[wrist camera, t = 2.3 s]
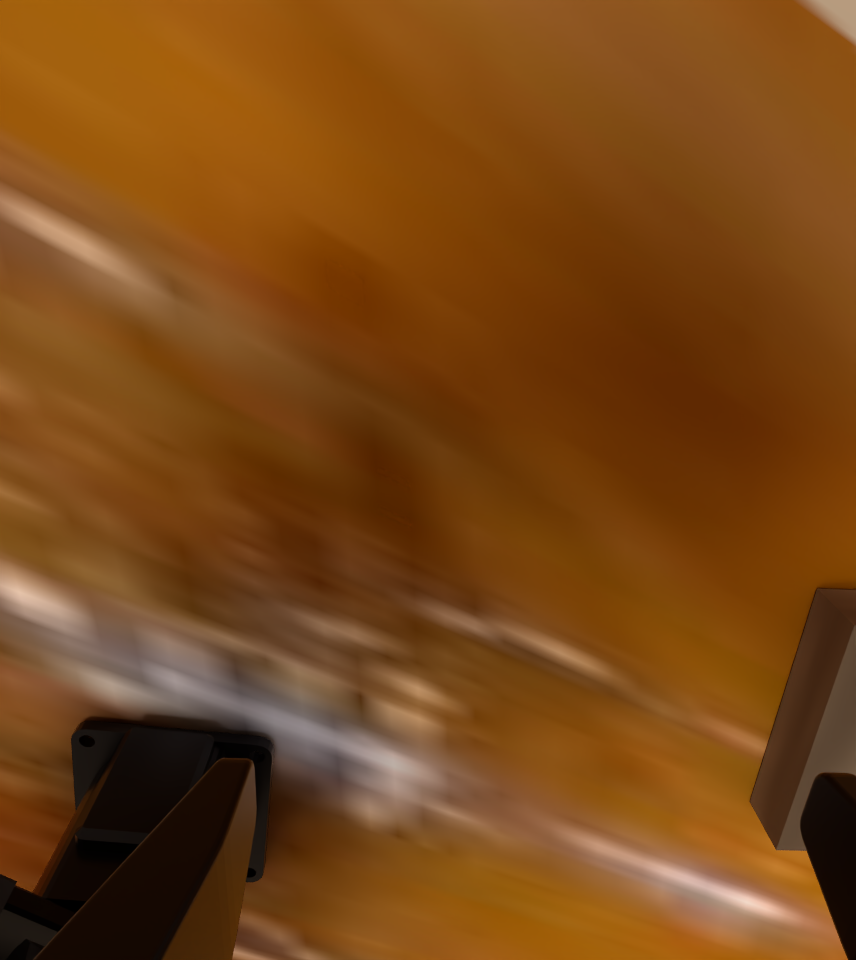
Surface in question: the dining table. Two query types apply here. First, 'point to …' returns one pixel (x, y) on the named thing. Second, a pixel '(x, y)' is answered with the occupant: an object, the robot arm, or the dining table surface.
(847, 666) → the grey base plate stand
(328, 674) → the dining table surface
